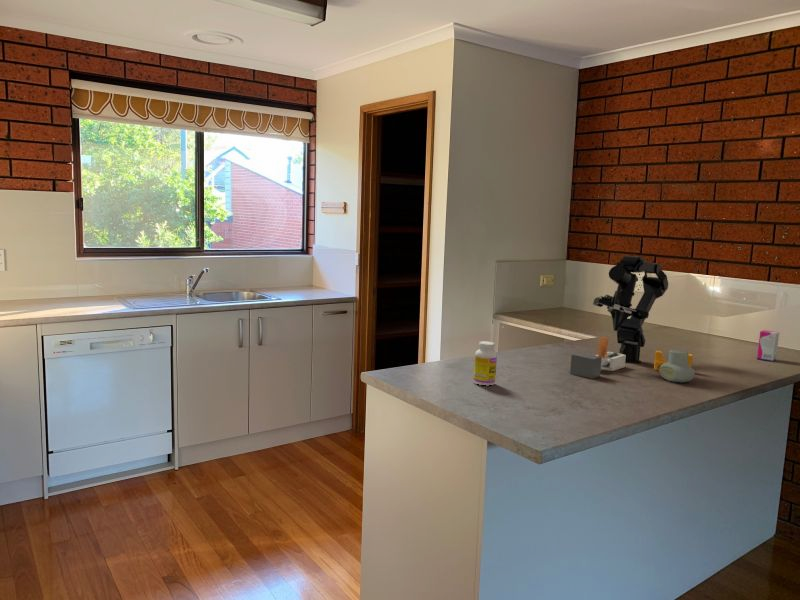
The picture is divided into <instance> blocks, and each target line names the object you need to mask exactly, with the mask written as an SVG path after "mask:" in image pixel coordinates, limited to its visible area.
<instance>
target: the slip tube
mask: <svg viewBox="0 0 800 600" xmlns="http://www.w3.org/2000/svg"><path fill="white" fill-rule="evenodd" d="M598 341H599V343H598V353H597V355H598V356H600V357H602V360H601V367H603V366H606V365H610V358H613V357H616V356H619V355H618V354H617V352H613V353H611V354H607V352H608V343H609V337H606V336H600V337H599V339H598Z"/></svg>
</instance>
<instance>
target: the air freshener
mask: <svg viewBox="0 0 800 600" xmlns="http://www.w3.org/2000/svg"><path fill="white" fill-rule="evenodd" d="M689 354H690V353H689V352H688V351H686V350H683V349H681V350H680V349H670V350H669V351H668V360H667V362H666V363H664V364H662V365H661V366H660V365H659V366H660V368H659V371H658V373H659V375H660V376H661V377H662V378H663V379H665V380H666V381H667V380H668V382H670V381H672V382H671V383H677V382H680V383H679V384H681V383H687V382H690V381H692V380H693V379H694V378H695V377H696V376H695V375H696V372H695V370H694V368H693V367H691V366H689V365H688V355H689Z"/></svg>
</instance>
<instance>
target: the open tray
mask: <svg viewBox="0 0 800 600" xmlns="http://www.w3.org/2000/svg"><path fill="white" fill-rule="evenodd" d="M611 353H614V352H612V351H607V354H611ZM616 353H617V352H616ZM617 354H618V355H619V356H616V357H613V358H610V365H606V366H603V367H601V370H605V371H610V372H613V371H617V370H619V369H622V368H625V366H626V362H625V359H626V355H624V354H619V352H618V353H617ZM594 355H595V356H598V354H594Z"/></svg>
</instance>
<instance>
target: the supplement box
mask: <svg viewBox="0 0 800 600" xmlns="http://www.w3.org/2000/svg"><path fill="white" fill-rule="evenodd" d="M779 337H780V331H772V330H760V332H759V338H758V339H759V340H758V346H757V347H758V348H757V356H756V359H757V360H760V361H765V362H773V363H774V362H775V361H777V354H778V346H779V339H780V338H779Z"/></svg>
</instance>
